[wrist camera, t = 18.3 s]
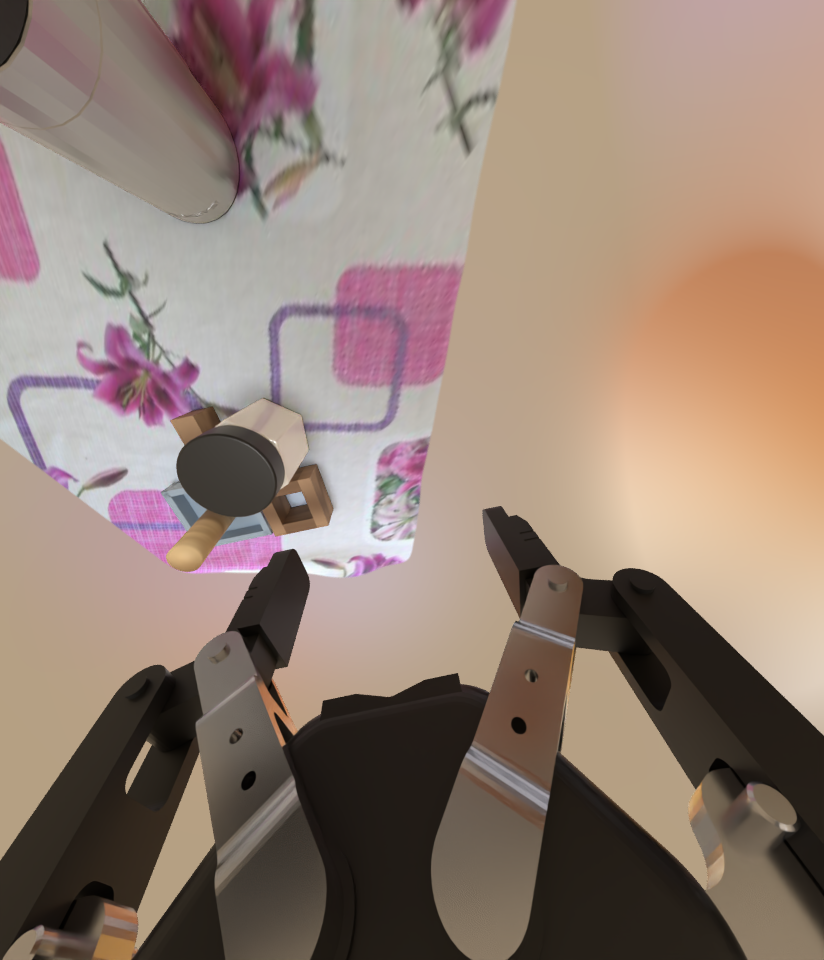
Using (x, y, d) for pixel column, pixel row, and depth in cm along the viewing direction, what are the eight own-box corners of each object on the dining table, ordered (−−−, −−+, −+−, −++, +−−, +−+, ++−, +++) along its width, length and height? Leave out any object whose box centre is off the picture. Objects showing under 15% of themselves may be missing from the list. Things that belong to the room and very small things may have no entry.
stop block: (192, 410, 34) (170, 420, 31) (212, 406, 34) (192, 415, 30) (221, 465, 37) (204, 479, 34) (240, 461, 37) (225, 474, 34)
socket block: (263, 475, 38) (251, 490, 35) (316, 464, 38) (309, 477, 35) (284, 518, 42) (275, 536, 38) (333, 508, 42) (328, 525, 38)
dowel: (209, 499, 38) (160, 550, 30) (234, 495, 39) (192, 545, 30) (219, 519, 40) (175, 573, 31) (243, 515, 40) (206, 568, 31)
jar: (226, 448, 36) (162, 498, 26) (243, 387, 33) (178, 414, 23) (298, 476, 39) (267, 531, 28) (320, 421, 36) (293, 460, 25)
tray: (173, 483, 38) (160, 492, 36) (249, 466, 38) (241, 475, 35) (209, 537, 42) (199, 549, 40) (277, 523, 42) (271, 534, 40)
